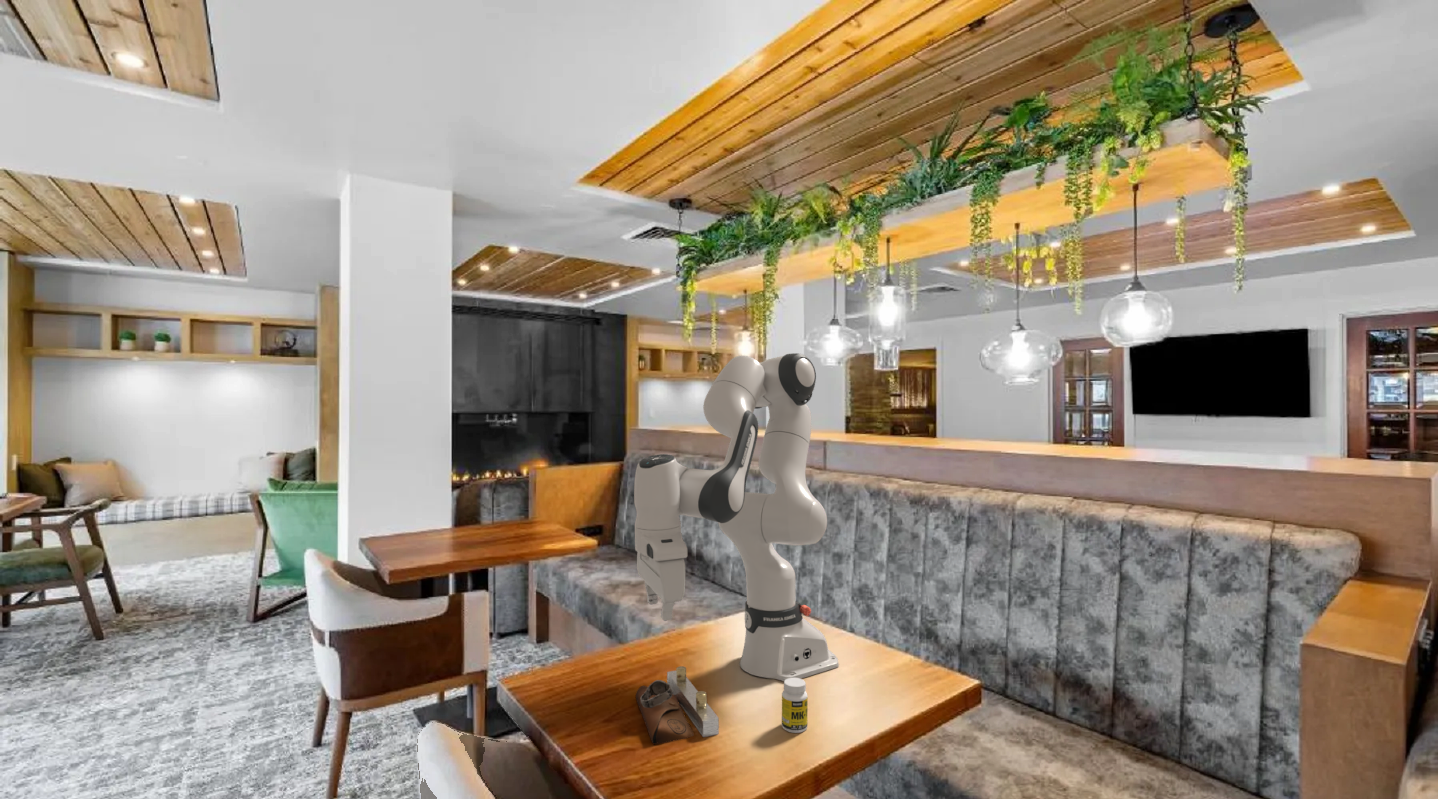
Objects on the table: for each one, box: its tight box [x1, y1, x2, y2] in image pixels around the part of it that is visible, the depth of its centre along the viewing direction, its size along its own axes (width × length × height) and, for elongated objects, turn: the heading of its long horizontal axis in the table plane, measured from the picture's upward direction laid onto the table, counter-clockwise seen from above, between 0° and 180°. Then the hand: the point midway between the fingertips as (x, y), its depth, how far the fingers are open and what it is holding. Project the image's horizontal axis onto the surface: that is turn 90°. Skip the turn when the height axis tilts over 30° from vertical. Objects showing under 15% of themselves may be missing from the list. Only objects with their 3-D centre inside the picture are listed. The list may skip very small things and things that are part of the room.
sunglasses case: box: [635, 685, 695, 746], centre depth 124 cm, size 18×7×7 cm
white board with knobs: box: [666, 665, 720, 738], centre depth 127 cm, size 3×22×6 cm, turn 22°
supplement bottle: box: [781, 678, 809, 734], centre depth 120 cm, size 5×5×8 cm
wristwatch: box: [640, 679, 673, 708], centre depth 123 cm, size 4×6×5 cm
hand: (659, 611), depth 125 cm, fingers open, 8 cm apart
